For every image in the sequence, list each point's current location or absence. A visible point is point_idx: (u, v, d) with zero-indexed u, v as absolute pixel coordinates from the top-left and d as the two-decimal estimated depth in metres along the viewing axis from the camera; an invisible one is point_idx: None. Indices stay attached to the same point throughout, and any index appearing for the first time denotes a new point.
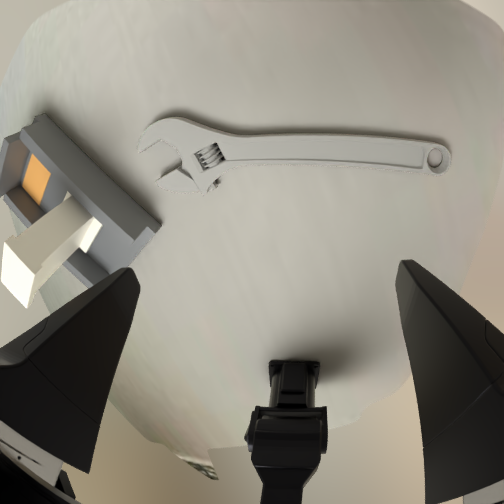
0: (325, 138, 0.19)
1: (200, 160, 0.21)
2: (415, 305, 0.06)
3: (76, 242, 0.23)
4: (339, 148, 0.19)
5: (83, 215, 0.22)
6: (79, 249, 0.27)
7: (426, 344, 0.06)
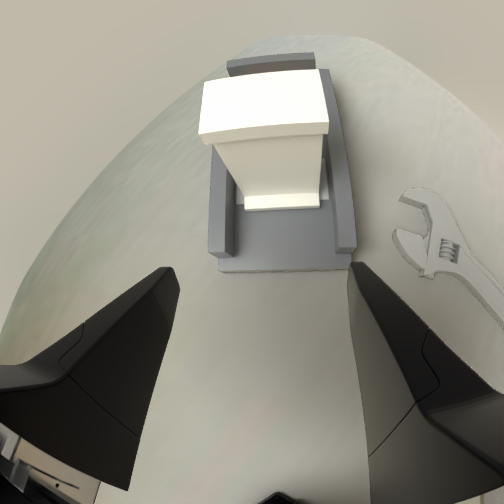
0: None
1: None
2: (358, 309, 0.07)
3: (272, 185, 0.19)
4: None
5: None
6: (233, 200, 0.22)
7: (366, 350, 0.06)
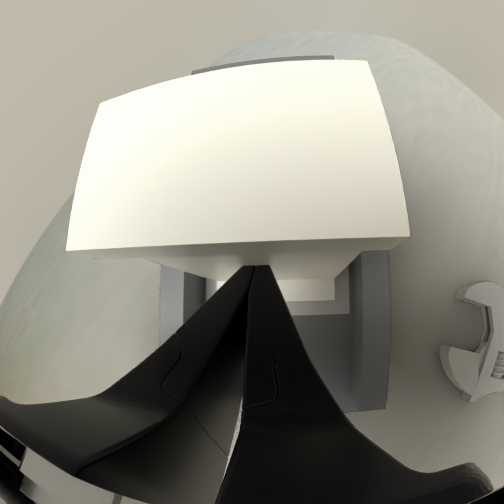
0: None
1: None
2: None
3: None
4: None
5: None
6: None
7: None
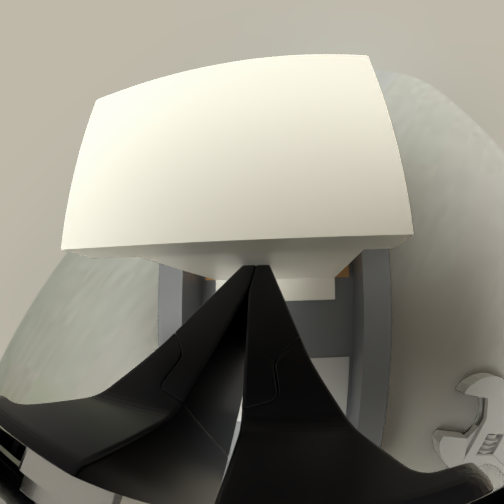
0: None
1: None
2: None
3: None
4: None
5: None
6: None
7: None
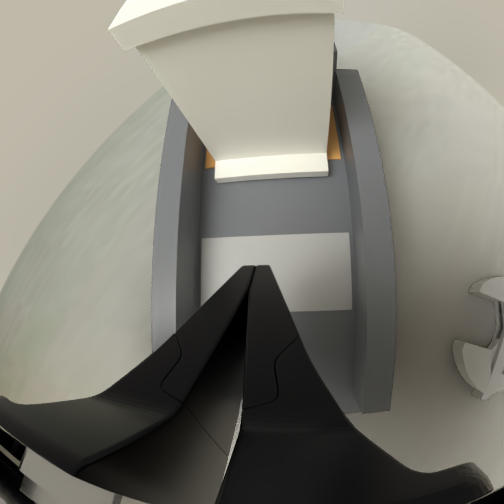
0: None
1: None
2: None
3: (255, 139, 0.12)
4: None
5: None
6: (195, 305, 0.14)
7: None
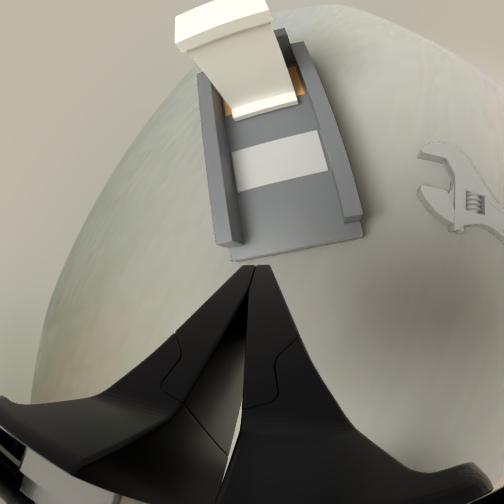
0: None
1: None
2: None
3: (251, 90, 0.20)
4: None
5: None
6: (234, 189, 0.22)
7: None
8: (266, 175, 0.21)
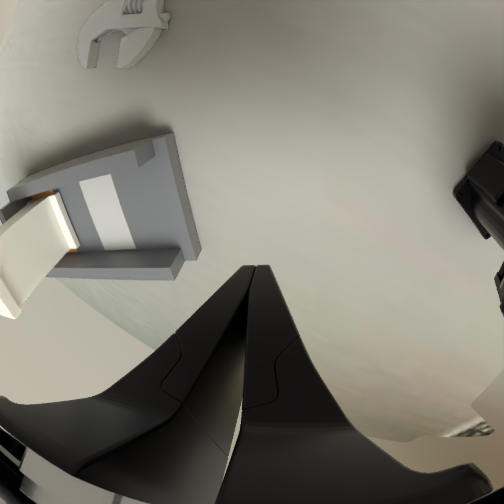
0: None
1: (133, 14, 0.12)
2: None
3: (50, 237, 0.20)
4: None
5: (34, 205, 0.19)
6: (133, 251, 0.23)
7: None
8: (120, 224, 0.21)
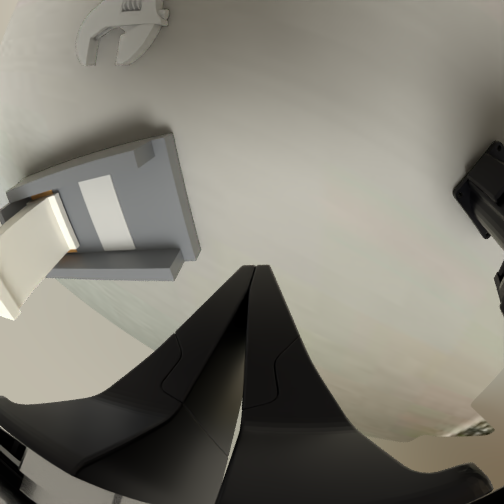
0: None
1: (132, 11, 0.12)
2: None
3: (49, 238, 0.20)
4: None
5: (33, 206, 0.19)
6: (133, 252, 0.23)
7: None
8: (119, 224, 0.21)
